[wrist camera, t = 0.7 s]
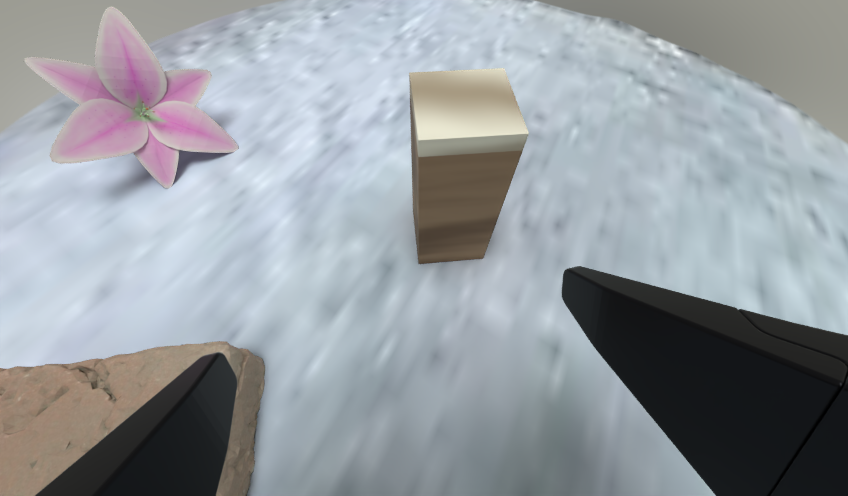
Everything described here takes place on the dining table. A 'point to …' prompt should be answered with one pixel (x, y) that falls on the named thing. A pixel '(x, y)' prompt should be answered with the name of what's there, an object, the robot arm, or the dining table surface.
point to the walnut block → (461, 159)
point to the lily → (131, 104)
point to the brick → (109, 411)
